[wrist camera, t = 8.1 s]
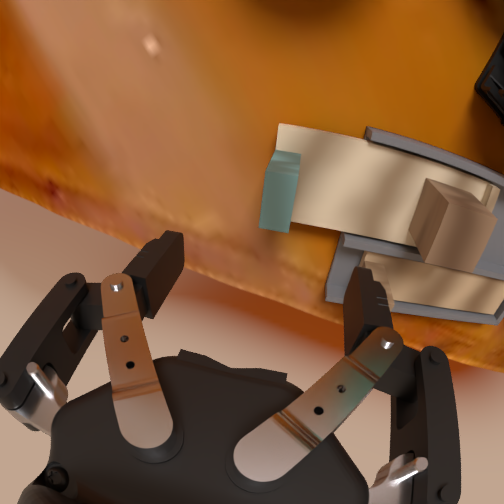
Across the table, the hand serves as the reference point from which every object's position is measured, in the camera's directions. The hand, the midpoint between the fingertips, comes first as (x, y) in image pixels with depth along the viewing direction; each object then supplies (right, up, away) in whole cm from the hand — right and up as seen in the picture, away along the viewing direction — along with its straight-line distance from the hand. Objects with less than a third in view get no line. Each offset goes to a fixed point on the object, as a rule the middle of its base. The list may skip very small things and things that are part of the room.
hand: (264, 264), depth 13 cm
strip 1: (+11, +6, +10) cm, 16 cm away
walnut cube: (+16, +4, +8) cm, 18 cm away
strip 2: (+20, -2, +14) cm, 24 cm away
